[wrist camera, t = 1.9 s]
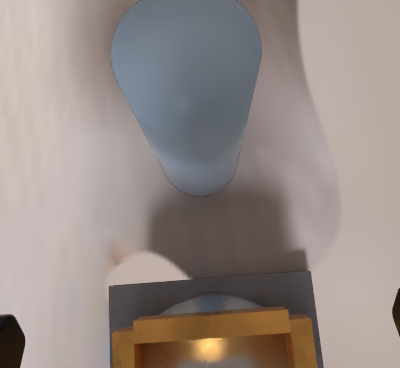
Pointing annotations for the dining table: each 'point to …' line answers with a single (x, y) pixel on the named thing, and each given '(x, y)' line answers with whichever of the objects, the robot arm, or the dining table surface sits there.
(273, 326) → the open square bin
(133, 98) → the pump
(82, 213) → the dining table surface
